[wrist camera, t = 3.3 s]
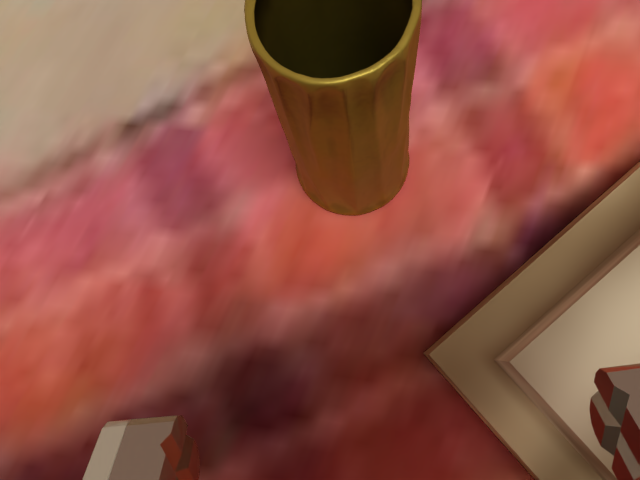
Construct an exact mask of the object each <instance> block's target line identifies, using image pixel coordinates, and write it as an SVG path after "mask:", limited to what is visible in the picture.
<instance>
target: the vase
mask: <svg viewBox="0 0 640 480" xmlns="http://www.w3.org/2000/svg"><path fill="white" fill-rule="evenodd" d="M421 10H422V0H245V9H244V12H245V22H246V29H247V34H248V39H249V42H250V45H251V48H252V51H253V53H254V55H255V57H256V59H257V62H258V64H259V66H260V69H261V71H262V73H263V76H264V78H265V81H266V84H267V87H268V89H269V92H270V95H271V98H272V101H273V103H274V106H275V109H276V112H277V114H278V117H279V120H280V123H281V125H282V128H283V130H284V133H285V135H286V138H287V140H288V144H289V147H290V150H291V153H292V155H293V157H294V159H295V161H296V171H297V176H298V179H299V181H300V184H301V186H302V188H303V190H304V191H305V193H306V194H307V195H308V196H309V197H310V198H311V199H312V200H313V201H314V202H315V203H316V204H318V205H319V206H321V207H322V208H324V209H326V210H328V211H331V212H334V213H337V214H342V215H361V214H365V213H368V212H371V211H374V210H376V209H378V208H380V207H382V206H384V205H385V204H387V203H388V202H389V201H390V200H392V199H393V198H394V197H395V195H396V194H397V193H398V192H399V190H400V189H401V188H402V186H403V184H404V182H405V179H406V176H407V173H408V168H409V153H408V146H409V111H410V104H411V91H412V85H413V79H414V72H415V65H416V57H417V49H418V42H419V34H420V26H421V12H422V11H421Z"/></svg>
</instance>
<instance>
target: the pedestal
mask: <svg viewBox="0 0 640 480" xmlns="http://www.w3.org/2000/svg"><path fill="white" fill-rule="evenodd" d="M423 354H424V355H425V356H426V357H427V358H428V359H429V360H430V362H431V363H432V364H433V365H434V366H435V367H436V368H437V369H438V371H439V372H440V373H441V374H442V375H443V376H444V377H445V379H446V380H447V381H448V382H449V383H450V384H451V385H452V386H453V388H454V389H455V390H456V391H457V392H458V393H459V394H460V396H461V397H462V398H463V399H464V400H465V401H466V402H467V403H468V405H469V406H470V407H471V408H472V409H473V410H474V411H475V413H476V414H477V415H478V416H479V417H480V418H481V419H482V420H483V422H484V423H485V424H486V425H487V426H488V427H489V428H490V429H491V431H492V432H493V433H494V434H495V435H496V436H497V437H498V439H499V440H500V441H501V442H502V443H503V444H504V445H505V446H506V448H507V449H508V450H509V451H510V452H511V453H512V454H513V456H514V457H515V458H516V459H517V460H518V461H519V462H520V463H521V465H522V466H523V467H524V468H525V469H526V470H527V471H528V473H529V474H530V475H531V476H532V477H533V478H534V479H535V480H617V478H616V476H615V474H614V472H613V470H612V463H613V459H614V456H613V455H612V454H611V453H609V452H608V451H606V450H605V449H604V448H602V447H601V446H600V444H599V442H598V440H597V437H596V435H595V433H594V430H593V427H592V424H591V418H590V410H589V408H590V400H591V397H592V396H593V395H594V394H595V393H596V392H597V391H598V389H597V387H596V385H595V383H594V378H595V374H596V372H597V371H598V369H599V368H607V367H615V366H623V365H631V364H639V363H640V161H639V162H638V163H637V164H636V165H635V166H634V167H633V168H631V169H630V170H629V171H628V172H627V173H626V174H625V175H624V176H622V177H621V178H620V179H619V180H618V181H617V182H616V183H615V184H613V185H612V186H611V187H610V188H609V189H608V190H607V191H606V192H604V193H603V194H602V195H601V196H600V197H599V198H598V199H597V200H595V201H594V202H593V203H592V204H591V205H590V206H589V207H588V208H586V209H585V210H584V211H583V212H582V213H581V214H580V215H579V216H577V217H576V218H575V219H574V220H573V221H572V222H571V223H570V224H568V225H567V226H566V227H565V228H564V229H563V230H562V231H560V232H559V233H558V234H557V235H556V236H555V237H554V238H553V239H551V240H550V241H549V242H548V243H547V244H546V245H545V246H544V247H542V248H541V249H540V250H539V251H538V252H537V253H536V254H535V255H533V256H532V257H531V258H530V259H529V260H528V261H527V262H526V263H524V264H523V265H522V266H521V267H520V268H519V269H518V270H517V271H515V272H514V273H513V274H512V275H511V276H510V277H509V278H508V279H506V280H505V281H504V282H503V283H502V284H501V285H500V286H498V287H497V288H496V289H495V290H494V291H493V292H492V293H491V294H489V295H488V296H487V297H486V298H485V299H484V300H483V301H482V302H480V303H479V304H478V305H477V306H476V307H475V308H474V309H473V310H471V311H470V312H469V313H468V314H467V315H466V316H465V317H464V318H462V319H461V320H460V321H459V322H458V323H457V324H456V325H455V326H453V327H452V328H451V329H450V330H449V331H448V332H447V333H446V334H444V335H443V336H442V337H441V338H440V339H439V340H438V341H437V342H435V343H434V344H433V345H432V346H431V347H430V348H429V349H427V350H426V351H425V352H424V353H423Z"/></svg>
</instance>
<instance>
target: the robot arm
mask: <svg viewBox="0 0 640 480" xmlns="http://www.w3.org/2000/svg"><path fill="white" fill-rule="evenodd" d="M594 383H595V385H596V387H597V389H598V391H597V392H596V393H595V394H594V395H593V396H592V397H591V400H590V408H589V410H590V418H591V424H592V427H593V430H594V433H595V435H596V437H597V440H598V442H599V444H600V446H601V447H602V448H604V449H605V450H606V451H608V452H609V453H611V454H612V455H613V456H614V459H613V463H612V470H613V472H614V474H615V476H616V478H617V480H640V363H639V364H631V365H623V366H615V367H607V368H599V369H598V371H597V372H596V374H595V378H594ZM187 427H188V425H187V423H186V421H185V419H184V417H183V416H182V415H180V416H167V417H154V418H142V419H131V420H121V421H111V422H107V423H106V425H105V426H104V427H103V428H102V430H101V432H100V435H99V437H98V440H97V442H96V445H95V448H94V450H93V453H92V456H91V458H90V461H89V463H88V466H87V469H86V471H85V474H84V476H83V479H82V480H198V479H199V473H200V457H199V452H198V447H197V445H196V443H195V440H194V439H193V438H191V437H189V436H188V435H186V431H187Z"/></svg>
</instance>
